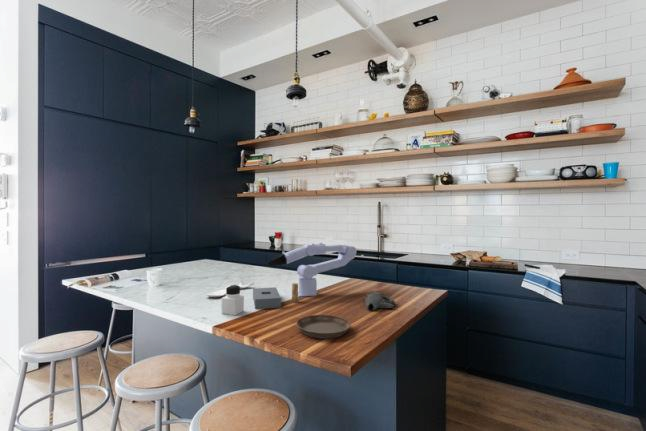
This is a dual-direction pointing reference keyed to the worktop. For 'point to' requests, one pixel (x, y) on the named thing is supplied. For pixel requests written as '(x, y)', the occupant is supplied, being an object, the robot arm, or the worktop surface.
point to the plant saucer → (323, 326)
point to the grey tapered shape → (378, 301)
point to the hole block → (266, 298)
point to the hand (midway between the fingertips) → (270, 264)
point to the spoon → (223, 292)
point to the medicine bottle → (232, 301)
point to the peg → (294, 292)
